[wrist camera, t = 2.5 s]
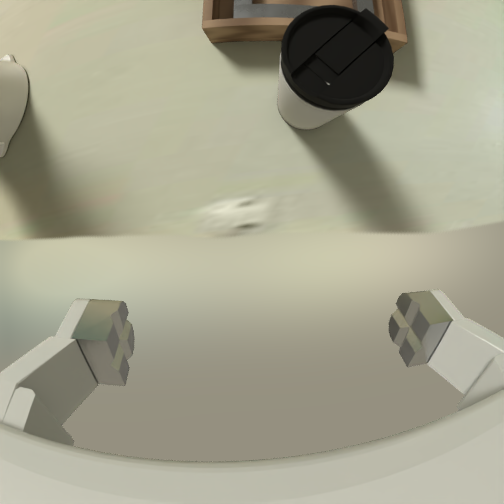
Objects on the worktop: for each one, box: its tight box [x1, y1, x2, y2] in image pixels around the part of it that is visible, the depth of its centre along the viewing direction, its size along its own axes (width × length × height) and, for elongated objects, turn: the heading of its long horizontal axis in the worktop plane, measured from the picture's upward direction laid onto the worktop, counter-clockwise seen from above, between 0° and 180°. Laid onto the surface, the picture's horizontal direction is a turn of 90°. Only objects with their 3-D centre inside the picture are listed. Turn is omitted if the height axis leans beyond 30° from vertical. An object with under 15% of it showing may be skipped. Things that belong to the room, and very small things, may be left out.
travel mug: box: [277, 5, 394, 130], centre depth 21 cm, size 6×7×20 cm
